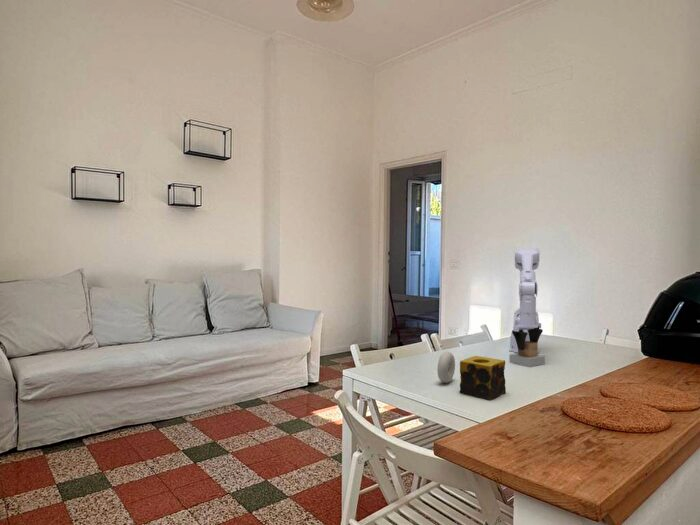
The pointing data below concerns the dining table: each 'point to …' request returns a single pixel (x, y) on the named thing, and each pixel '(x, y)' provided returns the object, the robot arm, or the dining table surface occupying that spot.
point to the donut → (446, 367)
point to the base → (527, 360)
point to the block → (529, 349)
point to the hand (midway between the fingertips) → (527, 348)
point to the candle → (482, 377)
